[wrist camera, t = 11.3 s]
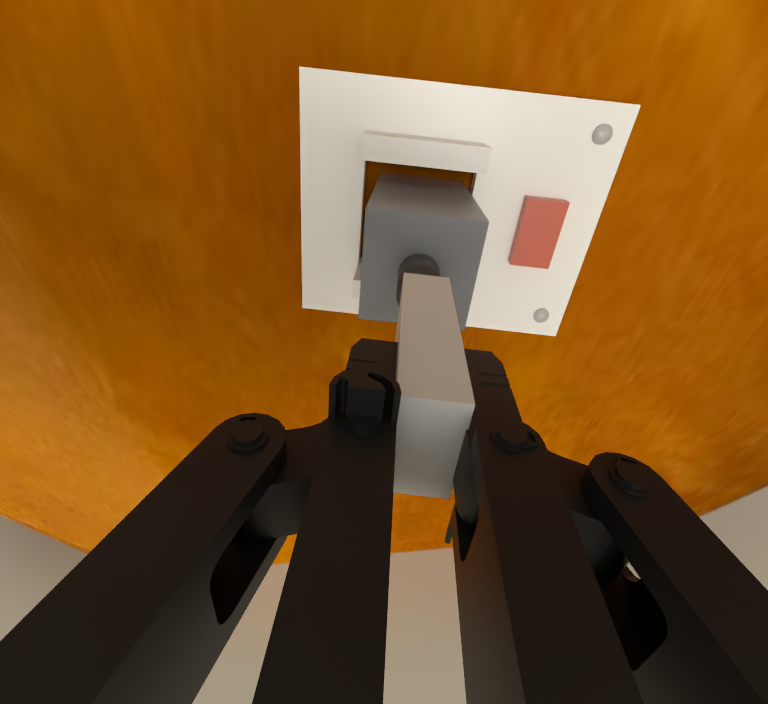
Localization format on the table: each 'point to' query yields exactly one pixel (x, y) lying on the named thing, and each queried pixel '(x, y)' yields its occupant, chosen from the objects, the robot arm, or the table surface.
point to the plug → (419, 241)
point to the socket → (489, 183)
